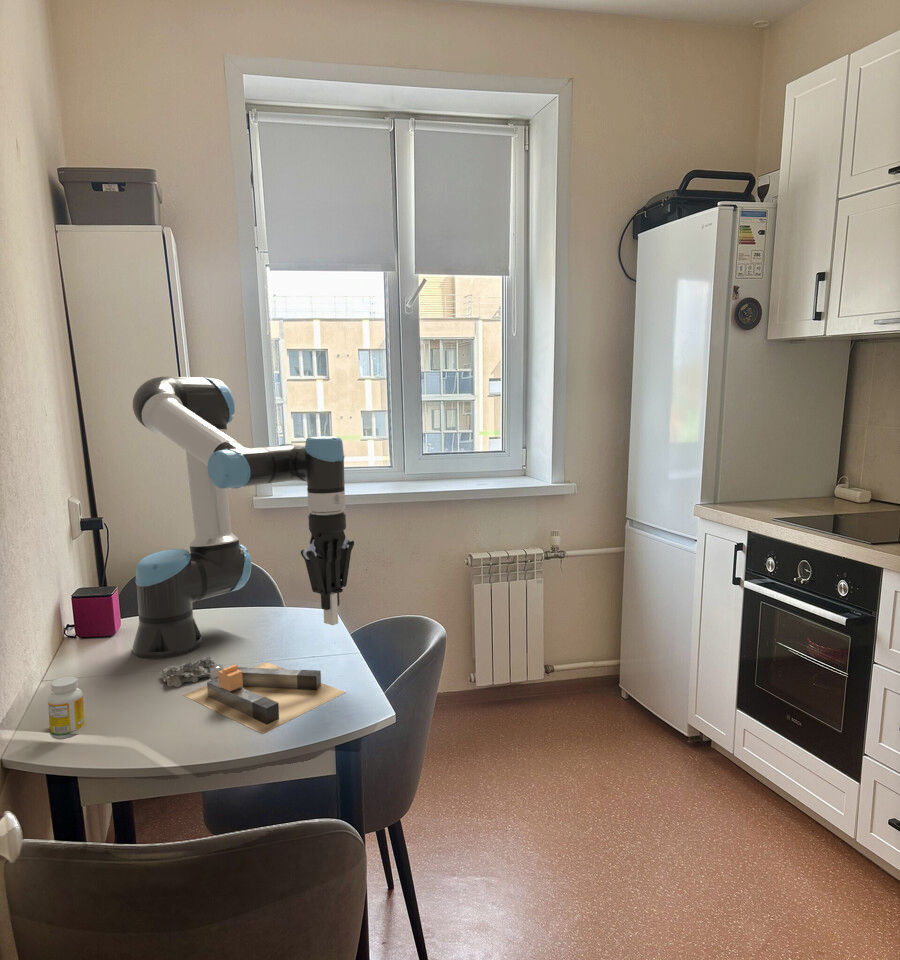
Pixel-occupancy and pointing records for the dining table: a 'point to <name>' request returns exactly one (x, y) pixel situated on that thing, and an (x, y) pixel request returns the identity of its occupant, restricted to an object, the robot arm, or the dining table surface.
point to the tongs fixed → (242, 699)
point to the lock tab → (230, 678)
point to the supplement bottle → (65, 708)
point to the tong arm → (281, 678)
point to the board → (287, 698)
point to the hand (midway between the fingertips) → (331, 623)
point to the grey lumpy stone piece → (197, 667)
